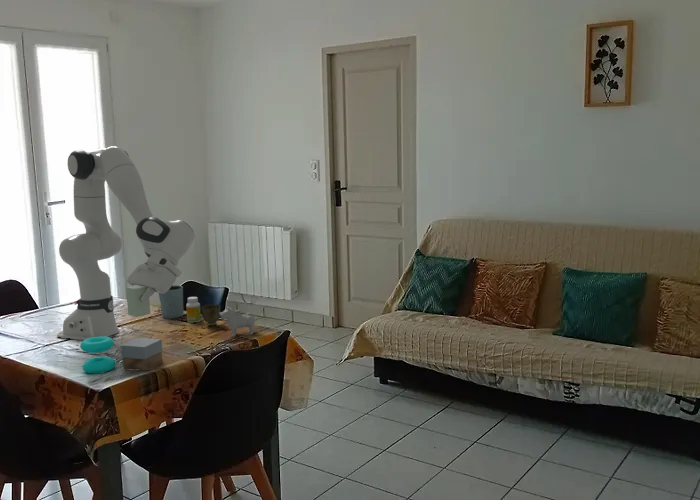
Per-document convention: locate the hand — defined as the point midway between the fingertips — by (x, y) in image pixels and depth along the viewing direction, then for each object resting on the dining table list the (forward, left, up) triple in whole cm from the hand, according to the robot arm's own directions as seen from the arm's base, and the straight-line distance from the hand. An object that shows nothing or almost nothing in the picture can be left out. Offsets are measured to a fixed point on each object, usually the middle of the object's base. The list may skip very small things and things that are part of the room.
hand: (136, 299), depth 222 cm
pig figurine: (+19, +39, -22) cm, 48 cm away
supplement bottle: (-6, +56, -22) cm, 60 cm away
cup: (+4, +50, -22) cm, 54 cm away
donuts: (-12, -5, -22) cm, 26 cm away
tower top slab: (0, +1, -18) cm, 18 cm away
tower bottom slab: (0, +1, -22) cm, 22 cm away
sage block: (0, +1, -5) cm, 5 cm away
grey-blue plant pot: (-19, +64, -22) cm, 70 cm away
